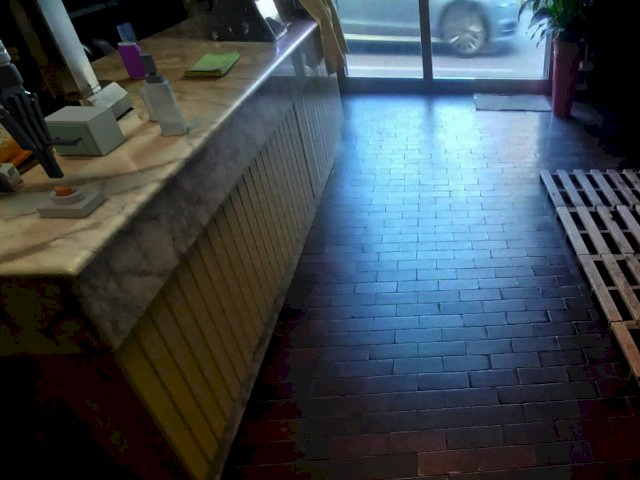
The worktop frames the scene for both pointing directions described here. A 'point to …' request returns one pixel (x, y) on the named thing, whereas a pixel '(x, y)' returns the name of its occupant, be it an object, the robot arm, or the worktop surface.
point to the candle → (147, 104)
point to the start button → (64, 190)
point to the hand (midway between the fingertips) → (56, 177)
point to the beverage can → (132, 59)
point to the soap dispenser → (162, 99)
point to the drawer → (72, 139)
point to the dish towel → (213, 65)
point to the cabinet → (92, 125)
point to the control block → (71, 204)
